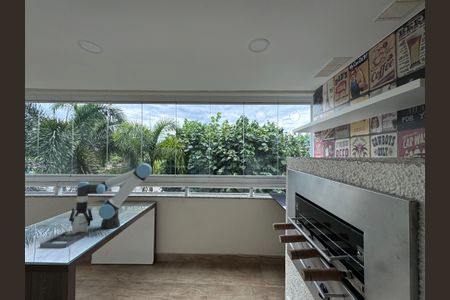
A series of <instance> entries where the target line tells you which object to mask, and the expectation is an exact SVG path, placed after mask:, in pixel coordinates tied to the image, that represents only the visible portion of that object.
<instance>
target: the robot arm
mask: <svg viewBox="0 0 450 300" xmlns="http://www.w3.org/2000/svg"><path fill="white" fill-rule="evenodd" d="M152 171H153V167H152V165H151V164H149V163H146V162H143V163H139V164H138V166H136V167H135V168H134V169H132V170H130V171H127V172H124V173H122V174H120V175H116V176H114V177H111V178H109V179H107V180H105V181H102V182H99V183H96V184H93V183H92V184H90V183H89V181H79V182H78V183H77V187H76V188H77V189H76V206H75V207H74V208H73V207H72V208H71V213H70V216H69V219H68V221H69V222H71V223H70V224H71V231H73V228H74V217H75V216H79V215H80V214H82V215H84V216H85V218H86V220H87V222H86V231H87V232H88V231H89V229H90V226H91V222H93V220H94V218H93V217H94V216H93V213H92V208H88V204H89V203H88V200H89V198H88V196H89V195H96V194H97V195H100V194H101V195H103V194H105V191H107V190H110V189H112V188H115V187H117V186H119V185H122V184H123V186H122V187H121V188H119V190H117V192H116V193H115V195H113V196H112V197H111V198H108V199H105V200H104V201H103V204H102V205H101V206H100V207H99V209H98V215H99V217H100V218H101V219H102V221H101V224H100V228H101V229H104V230H106V229H107V230H108V229H109V230H111V229H117V228H119V227H121V221H120V218H119V210H120V208H121V205H122V204H123V202H124V201H126V199H127V198H129V196H130V195H131V194H132V193H133V191H134V190H135V189H136V188H137V187H138V186H139V185H140V184H141V183H143V182H145V181H146V180H147V178H148V177H149V176H150V175H151V174H152Z"/></svg>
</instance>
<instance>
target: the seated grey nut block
mask: <svg viewBox="0 0 450 300" xmlns="http://www.w3.org/2000/svg"><path fill="white" fill-rule="evenodd" d="M78 236H79V235H78V231H73V230H70V232H67V233H65V236H64V237H78Z"/></svg>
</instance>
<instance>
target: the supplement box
mask: <svg viewBox="0 0 450 300" xmlns="http://www.w3.org/2000/svg"><path fill="white" fill-rule="evenodd" d="M74 216H75V215H74ZM74 216H73V217H74ZM86 222H87V220H86V218H85V216H84V214H82V215H80V214H79V215H78V216H75V217H74V228H73V230H72V231H79V232H88V230H87V231H86Z"/></svg>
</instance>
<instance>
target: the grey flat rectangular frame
mask: <svg viewBox="0 0 450 300" xmlns="http://www.w3.org/2000/svg"><path fill="white" fill-rule="evenodd" d="M70 231H71V230H70ZM70 231H68V230H67V231H64V232H62V233H59V234H58V235H55V236H53V237H52V238H49V239H47V240H45V241H43V242H41V243H40V244H39V248H43V249H44V248H45V249H46V248H47V249H48V248H50V249H51V248H52V249H53V248H54V249H57V248H58V249H60V248H61V249H62V248H63V249H66V248H68V247H70V246H71V245H73V244H75V243H76V242H78V241H80V240H81V239H83V238H85V237H87V236H88V235H89V231H87V232H79V231H78V237H65V233H67V232H70ZM56 242H57V243H56ZM58 242H59V243H58ZM62 242H63V243H62Z"/></svg>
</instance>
